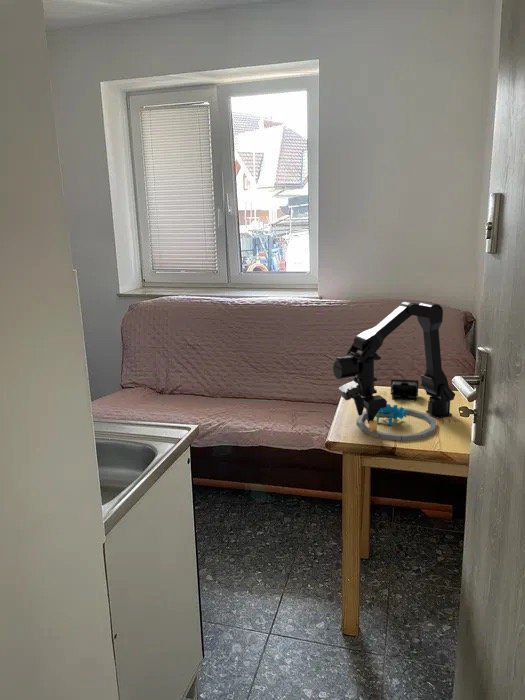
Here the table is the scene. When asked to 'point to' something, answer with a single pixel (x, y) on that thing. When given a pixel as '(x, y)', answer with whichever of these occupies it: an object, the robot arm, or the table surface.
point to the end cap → (404, 389)
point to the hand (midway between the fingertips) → (364, 419)
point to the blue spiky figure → (391, 413)
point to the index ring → (413, 436)
